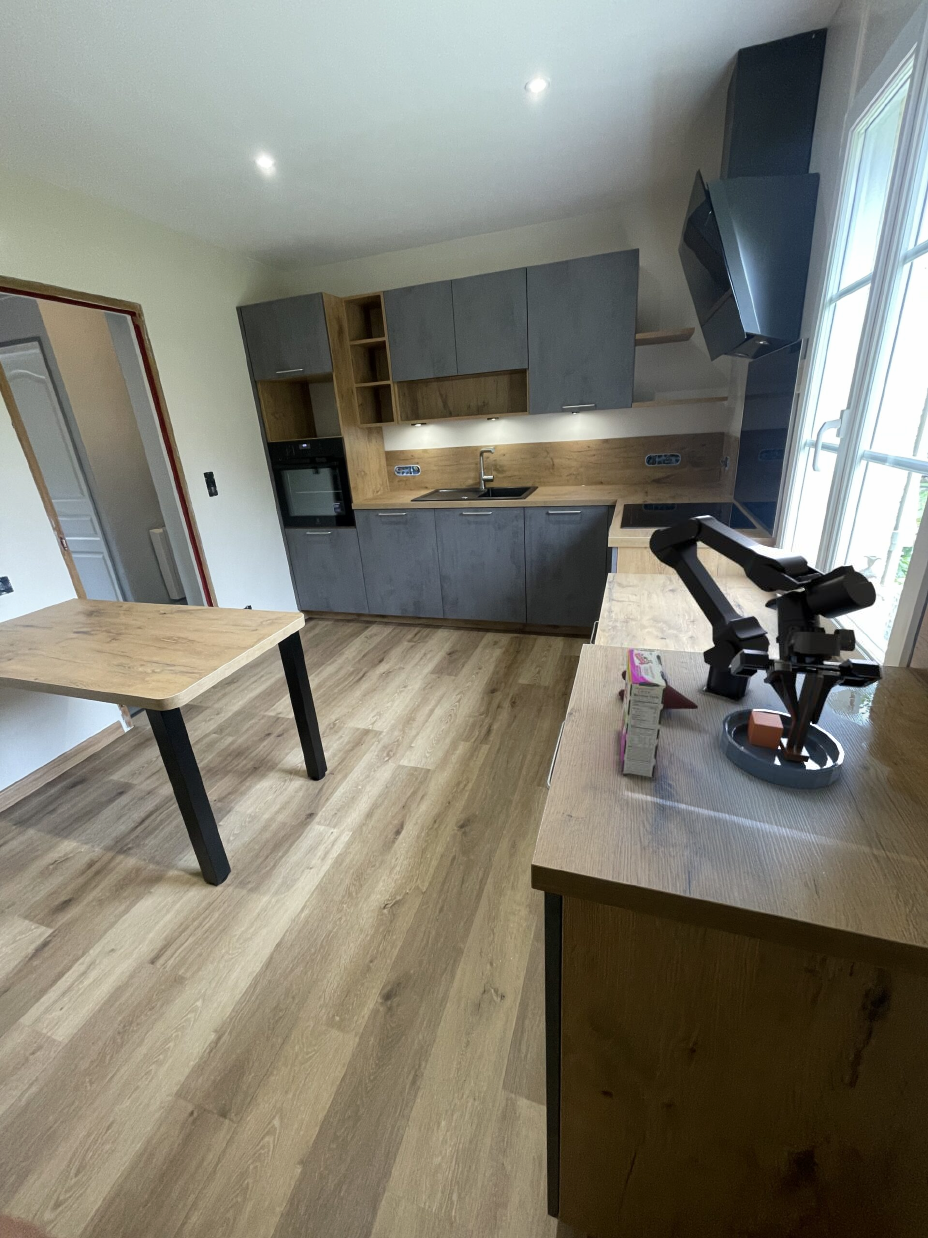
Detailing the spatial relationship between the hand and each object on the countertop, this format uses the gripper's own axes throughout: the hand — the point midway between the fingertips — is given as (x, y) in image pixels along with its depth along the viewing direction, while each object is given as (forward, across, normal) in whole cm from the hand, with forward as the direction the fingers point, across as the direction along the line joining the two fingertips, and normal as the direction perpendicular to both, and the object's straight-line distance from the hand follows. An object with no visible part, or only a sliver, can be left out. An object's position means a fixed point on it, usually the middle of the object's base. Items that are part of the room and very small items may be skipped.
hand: (805, 723), depth 73 cm
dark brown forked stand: (+4, 0, +6) cm, 7 cm away
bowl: (+4, -2, +6) cm, 8 cm away
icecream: (-2, -20, +13) cm, 24 cm away
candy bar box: (+8, -24, +3) cm, 25 cm away
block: (+2, -3, +8) cm, 9 cm away
